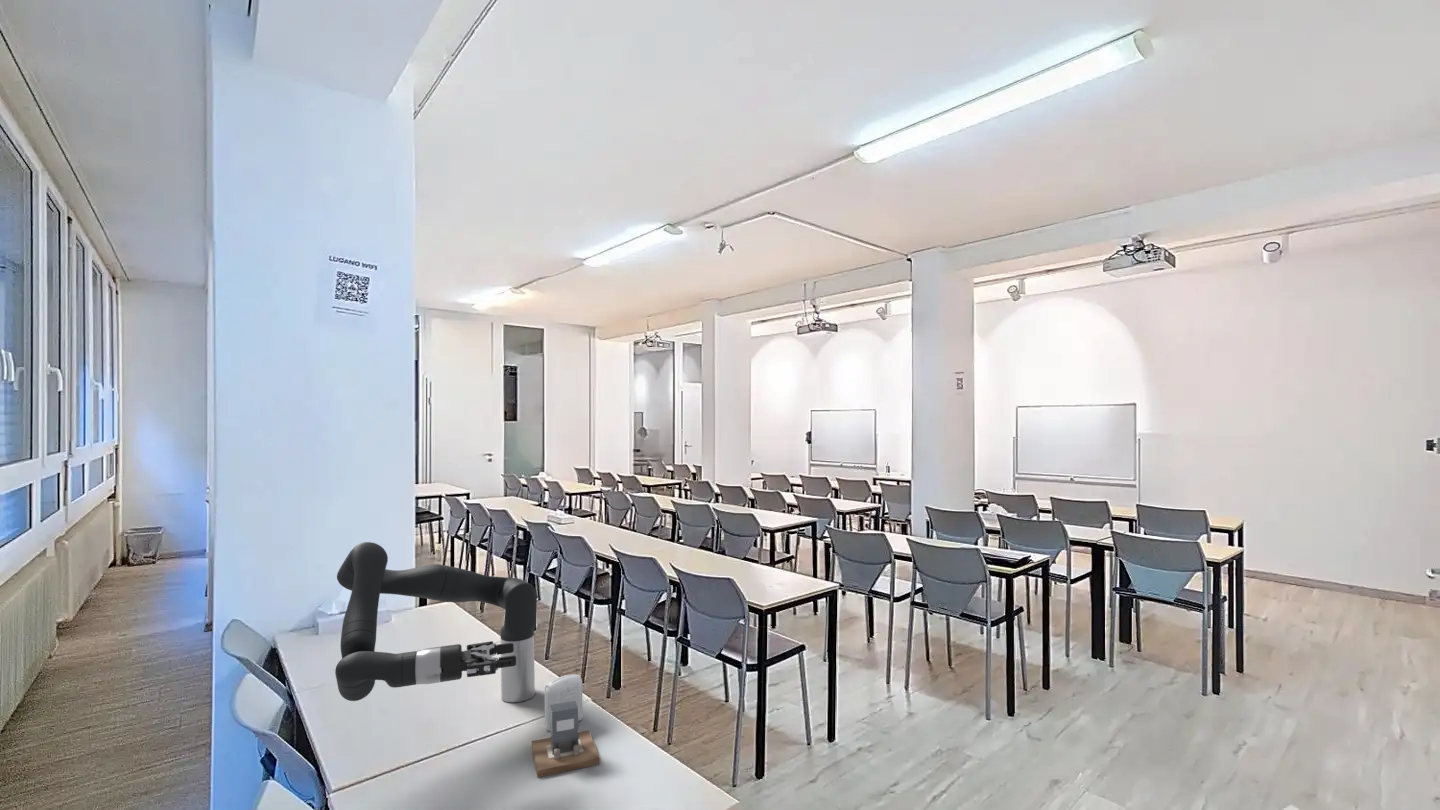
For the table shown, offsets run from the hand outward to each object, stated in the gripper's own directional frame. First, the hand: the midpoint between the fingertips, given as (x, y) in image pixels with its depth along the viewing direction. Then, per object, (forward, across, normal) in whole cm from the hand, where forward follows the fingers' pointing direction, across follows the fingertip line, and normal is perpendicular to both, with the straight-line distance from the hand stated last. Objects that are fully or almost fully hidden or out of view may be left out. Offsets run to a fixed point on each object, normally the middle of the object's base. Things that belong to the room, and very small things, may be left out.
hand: (514, 653), depth 153 cm
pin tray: (+11, 0, -26) cm, 28 cm away
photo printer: (+13, -16, -26) cm, 33 cm away
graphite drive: (+11, 0, -24) cm, 27 cm away
